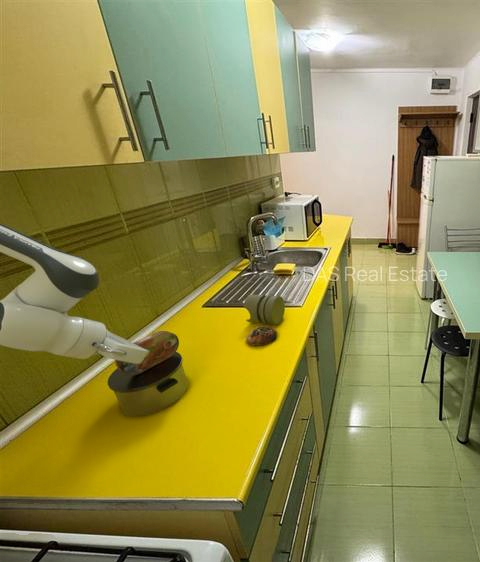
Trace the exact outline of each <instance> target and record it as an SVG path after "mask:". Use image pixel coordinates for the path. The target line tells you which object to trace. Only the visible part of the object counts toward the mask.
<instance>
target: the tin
mask: <svg viewBox="0 0 480 562" xmlns="http://www.w3.org/2000/svg"><path fill="white" fill-rule="evenodd" d="M132 343H133V344H135V345H137V346H140V347H142V348H144V349H147V350H149V351H150V352H149V354H148V356H146V357H145V358H144V360H143V361H142V363H141V364H133V363H128V362H123V361H118V360H115V366H116V369H117V368H118V369H119V370H120V371H122V372H123V373H124V374H126V375H137V374H140V373H142V372H144V371H146V370H148V369H149V368H151V367H153V366H155V365H157V364H159V363H161V362H163V361H164V360H166V359H168V358H170V357H171V356H172V355H173V354H174V353H175V352H178V349H179V345H180V340H179V337H178V336H177V334H175V333H173V332H170V331H166V330H159V331H155V332H154V333H151V334H149V335H147V336H145V337H142V338H140V339H138V340H136V341H134V342H132Z"/></svg>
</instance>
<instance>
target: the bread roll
mask: <svg viewBox="0 0 480 562" xmlns="http://www.w3.org/2000/svg"><path fill="white" fill-rule="evenodd" d="M277 336H278V332H277V330H276V329H275V328H274V327H272V326H269V325H262V326H261V325H260V326H257V327H254V329H253V330H251V331H250V332H249V333H247V335H246V337H245V342H246V343H248V344H249V345H251V346H255V347H257V346H263V345H267V344H270V343H273V342H275V341H276V340H277Z"/></svg>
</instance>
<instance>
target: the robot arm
mask: <svg viewBox="0 0 480 562" xmlns="http://www.w3.org/2000/svg"><path fill="white" fill-rule="evenodd" d="M0 253H2V254H4V255H6V256H9V257H10V258H14V259H15V260H18V261H20V262H23V263H25V264H27V265H29V266H32V267H33V269H34V270H35V271H34V272H32V273H31V274H30V275H29V276H28V277H27V278H26V279H25V280H24V281H22V283H20V284H18V286H17V285H16V287H14V289H13V290H12V291H10V292H9V293H8V294H7V295H6V296H5V297H4V298H2V299H0V346H2V347H6V348H10V349H16V350H22V351H28V352H46V353H50V354H52V355H55V356H60V357H66V358H67V357H68V358H72V359H77V360H78V359H79V360H87V359H89V358H90V357H92V356H96V355H101V356H103V357H105V358H108V359H110V360H114V361H116V360H118V361H123V362H128V363H133V364H141V363H142V361H143V360H144V358H145V357H146V356H148V354H149V352H150V351H149V350H147V349H144V348H142V347H140V346H137V345H135V344H133V343H134V342H131V341H130V340H128V339H125V338H123V337H121V336H119V335H117V334H115V333H113V332H111V331H109V330H108V329H107V327H106V325H105V324H104V323H103V322H100V321H97V320H94V319H93V320H92V319H88V318H84V317H80V316H74V315H73V316H72V315H71V316H70V315H68V311H70V310H71V309H72V308H73V307H74V306H76V304H78V302H80V301H81V300H82V299H84V298H85V297H87V296H88V295H89V294H91V293H93V292H94V291H95V290H96V289H98V287H99V285H100V278H99V277H100V276H99V273H98V269H97V268H96V266H95V265H93V264H92V263H91V262H89V261H87V259H84V258H82V257H79V256H76V255H73V254H71V253H68V252H64V251H62V250H59V249H57V248H54V247H52V246H50V245H49V244H46V243H44V242H42V241H40V240H37V239H35V238H34V237H31V236H29V235H27V234H25V233H23V232H21V231H18V230H16V229H14V228H12V227H9V226H7V225H6V224H3V223H1V222H0Z"/></svg>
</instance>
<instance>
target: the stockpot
mask: <svg viewBox="0 0 480 562" xmlns="http://www.w3.org/2000/svg"><path fill="white" fill-rule="evenodd" d="M183 361H184V360H183V356H182V354H181V353H180V352H178V351H176V352H175V353H174V354H173V355H172V356H171V357H170V358H168V359H166V360H164V361H163V362H161V363H159V364H157V365H155V366H153V367H151V368H149V369H148V370H146V371H144V372H142V373H140V374H137V375H126V374H124V373H123V372H122V371H120V370H119V369H118V368H117V367H116V369H114V370H113V371H112V372H111V374H110V375H109V376H108V378H107V381H106V382H107V386H108V388H109V390H111V391H113V393H114V396H115V397H116V400H117V402H118V404H119V406H120V409H121V411H122V412H123V414H125V415H126V416H129V417H145V416H150V415H153V414H156V413H159V412H161V411H163V410H165V409H168V408H169V407H170V406H172V405H174V404H175V403H176V402H178V401H179V400H180V399H181V398H182V397H183V396H184V395H185V394H186V392H187V390H188V388H189V381H188V378H187V374H186V372H185V368H184V366H183Z"/></svg>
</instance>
